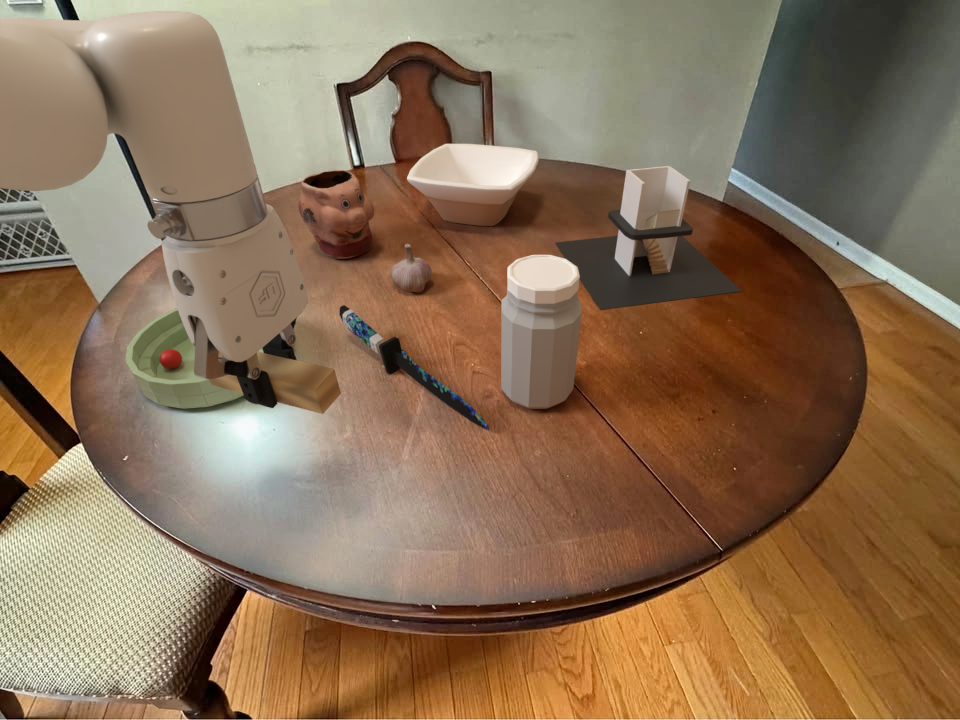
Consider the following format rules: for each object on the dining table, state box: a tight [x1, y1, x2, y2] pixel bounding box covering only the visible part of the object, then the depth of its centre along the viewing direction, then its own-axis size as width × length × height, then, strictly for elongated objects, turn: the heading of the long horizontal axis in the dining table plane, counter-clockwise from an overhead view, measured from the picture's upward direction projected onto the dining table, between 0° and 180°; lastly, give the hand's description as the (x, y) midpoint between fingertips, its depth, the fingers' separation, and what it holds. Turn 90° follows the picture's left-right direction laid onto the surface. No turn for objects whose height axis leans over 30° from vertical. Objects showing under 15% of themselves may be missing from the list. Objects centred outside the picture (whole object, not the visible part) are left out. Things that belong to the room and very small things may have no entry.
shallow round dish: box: [125, 307, 264, 409], centre depth 79 cm, size 21×21×5 cm
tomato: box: [159, 349, 182, 369], centre depth 78 cm, size 3×3×3 cm
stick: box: [210, 352, 342, 415], centre depth 52 cm, size 13×3×3 cm, turn 68°
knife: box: [339, 304, 491, 431], centre depth 75 cm, size 31×3×4 cm, turn 42°
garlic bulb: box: [389, 243, 433, 293], centre depth 94 cm, size 8×7×8 cm
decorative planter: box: [298, 169, 375, 260], centre depth 104 cm, size 20×12×14 cm, turn 48°
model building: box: [554, 165, 743, 310], centre depth 95 cm, size 25×24×16 cm
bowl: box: [406, 143, 540, 227], centre depth 116 cm, size 24×25×11 cm
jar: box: [500, 254, 583, 410], centre depth 69 cm, size 10×10×18 cm
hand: (274, 389), depth 53 cm, fingers closed on stick, 3 cm apart
